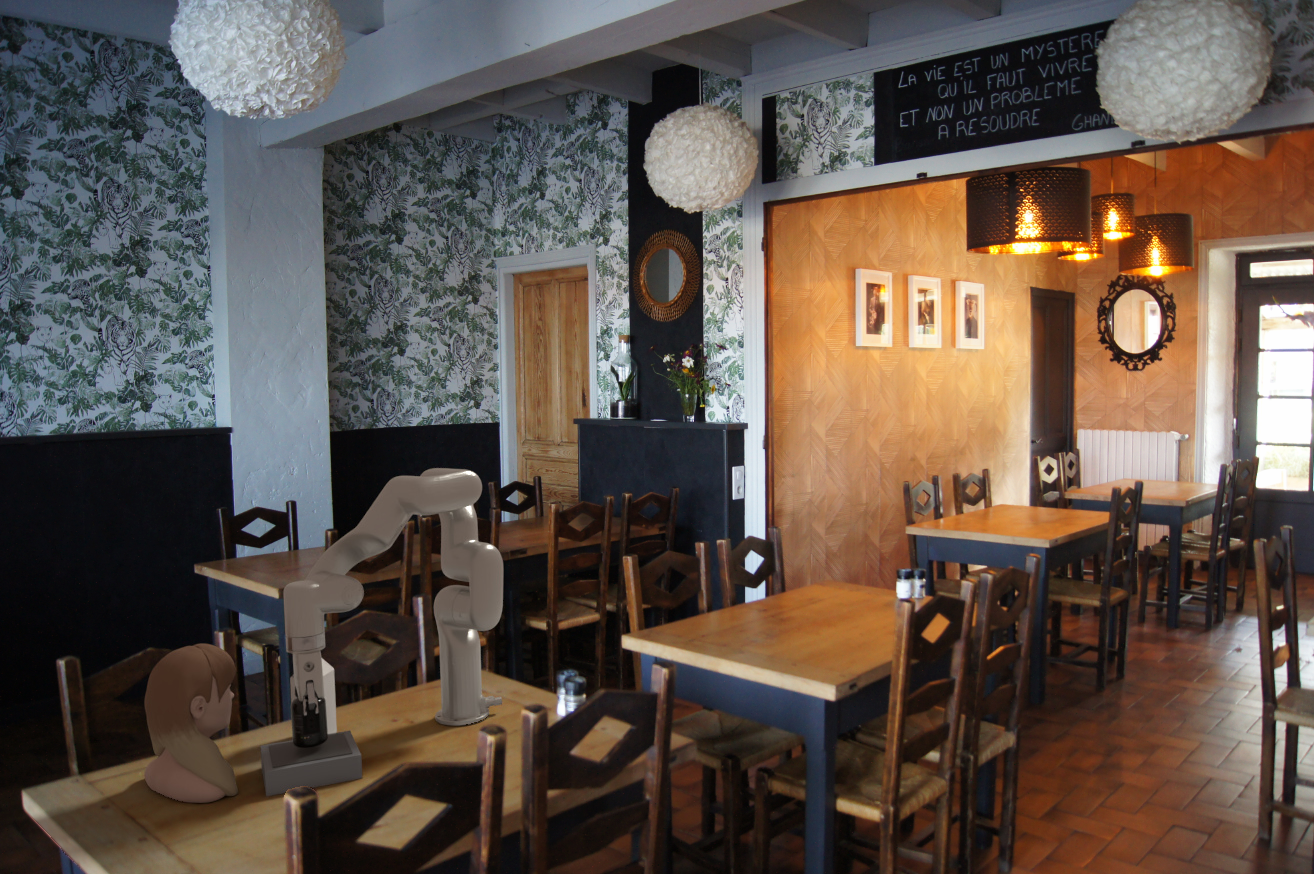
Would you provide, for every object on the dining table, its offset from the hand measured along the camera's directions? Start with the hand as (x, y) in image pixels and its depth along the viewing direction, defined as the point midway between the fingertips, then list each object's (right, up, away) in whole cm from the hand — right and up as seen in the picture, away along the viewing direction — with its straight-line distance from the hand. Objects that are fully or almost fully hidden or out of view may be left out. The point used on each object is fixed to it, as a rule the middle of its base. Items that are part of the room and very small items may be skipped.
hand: (309, 726), depth 196 cm
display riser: (0, -10, 0) cm, 10 cm away
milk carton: (-6, -9, +21) cm, 23 cm away
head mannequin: (-21, -11, -4) cm, 24 cm away
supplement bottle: (0, -3, 0) cm, 3 cm away
